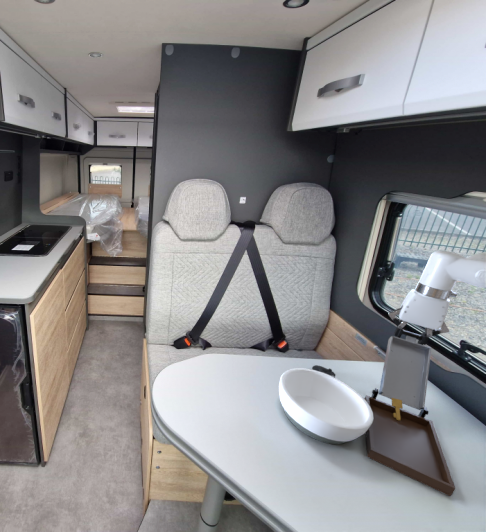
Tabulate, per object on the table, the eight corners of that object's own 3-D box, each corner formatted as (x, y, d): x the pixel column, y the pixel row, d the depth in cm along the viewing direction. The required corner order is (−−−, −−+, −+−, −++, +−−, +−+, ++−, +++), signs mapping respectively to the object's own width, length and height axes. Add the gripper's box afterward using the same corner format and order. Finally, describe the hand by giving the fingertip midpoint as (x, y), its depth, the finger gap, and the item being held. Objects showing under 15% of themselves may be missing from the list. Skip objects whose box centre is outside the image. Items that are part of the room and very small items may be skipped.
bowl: (278, 437, 80) (287, 412, 77) (269, 381, 101) (275, 360, 98) (377, 466, 75) (390, 441, 72) (346, 401, 95) (355, 379, 92)
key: (391, 398, 92) (391, 397, 92) (401, 400, 91) (402, 400, 91) (392, 418, 89) (393, 418, 89) (403, 421, 88) (404, 421, 88)
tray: (363, 401, 96) (366, 394, 95) (428, 427, 88) (432, 421, 87) (367, 456, 77) (370, 449, 76) (450, 496, 69) (455, 488, 68)
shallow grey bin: (390, 330, 103) (393, 326, 101) (428, 341, 98) (433, 337, 96) (378, 394, 94) (382, 391, 92) (419, 410, 89) (424, 407, 87)
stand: (367, 399, 97) (373, 387, 95) (421, 421, 90) (428, 408, 88) (368, 403, 95) (374, 390, 94) (422, 425, 89) (429, 412, 87)
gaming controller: (311, 365, 109) (328, 360, 106) (319, 378, 109) (337, 373, 106) (310, 380, 101) (329, 375, 98) (319, 394, 101) (338, 390, 98)
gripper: (467, 296, 92) (440, 347, 98) (395, 279, 101) (375, 327, 107) (475, 304, 86) (445, 358, 92) (398, 286, 95) (376, 336, 101)
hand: (408, 341), depth 100 cm, fingers closed on shallow grey bin, 5 cm apart
